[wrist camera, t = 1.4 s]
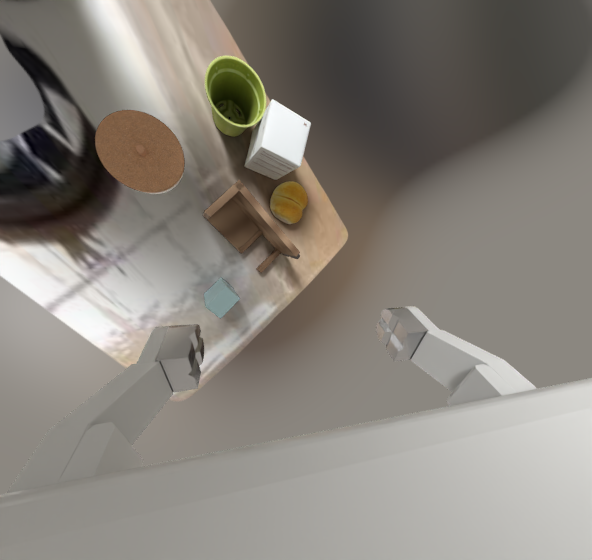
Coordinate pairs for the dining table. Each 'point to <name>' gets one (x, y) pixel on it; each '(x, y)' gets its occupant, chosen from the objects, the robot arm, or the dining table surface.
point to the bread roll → (288, 202)
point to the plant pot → (234, 94)
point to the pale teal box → (220, 298)
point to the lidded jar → (140, 151)
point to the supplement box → (277, 142)
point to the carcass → (247, 223)
